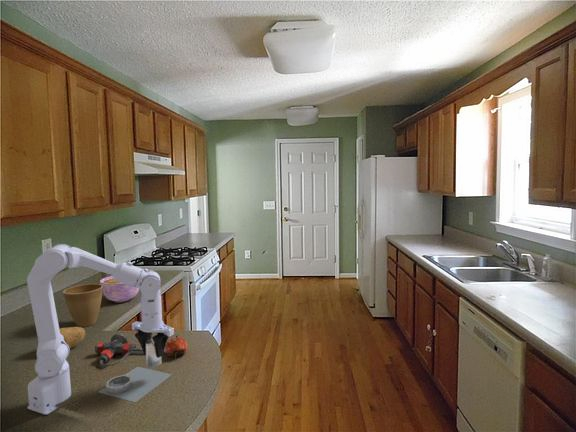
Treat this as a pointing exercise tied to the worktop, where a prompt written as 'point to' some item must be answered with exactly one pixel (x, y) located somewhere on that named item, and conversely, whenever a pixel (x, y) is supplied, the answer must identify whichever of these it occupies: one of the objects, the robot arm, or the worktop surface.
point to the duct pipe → (152, 354)
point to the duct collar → (120, 388)
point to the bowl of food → (117, 290)
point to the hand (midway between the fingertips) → (153, 354)
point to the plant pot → (84, 303)
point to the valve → (116, 349)
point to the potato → (72, 335)
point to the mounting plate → (139, 383)
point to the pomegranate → (176, 347)
